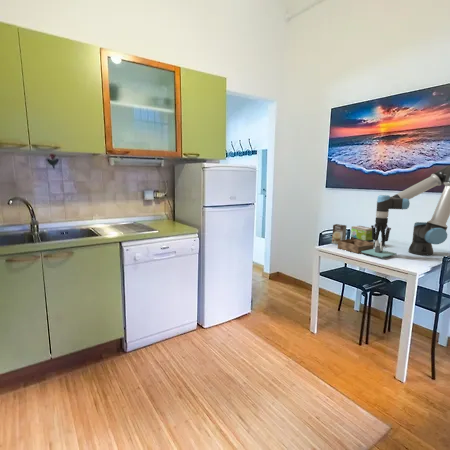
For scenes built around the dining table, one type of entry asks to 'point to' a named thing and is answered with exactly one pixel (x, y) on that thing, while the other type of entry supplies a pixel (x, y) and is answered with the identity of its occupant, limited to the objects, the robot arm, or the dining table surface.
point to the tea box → (362, 233)
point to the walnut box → (355, 245)
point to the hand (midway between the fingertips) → (378, 249)
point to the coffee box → (338, 233)
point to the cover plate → (384, 253)
